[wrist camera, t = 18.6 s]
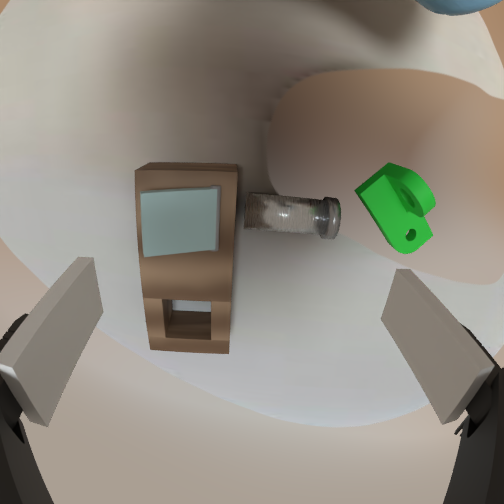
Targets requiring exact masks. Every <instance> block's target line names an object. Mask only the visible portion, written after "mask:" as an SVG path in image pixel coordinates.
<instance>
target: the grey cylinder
mask: <svg viewBox="0 0 504 504" xmlns="http://www.w3.org/2000/svg"><path fill="white" fill-rule="evenodd" d="M340 220H341V208H340V203H339V201H338V199H337V198H331V197H325V198H324V199H323V200H318V199H309V198H299V197H289V196H279V195H268V194H256V193H247V195H246V204H245V217H244V229H256V230H268V231H281V232H293V233H305V234H316V235H320V237H321V238H322V239H335V237H336V236H337V233H338V231H339V226H340Z"/></svg>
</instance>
